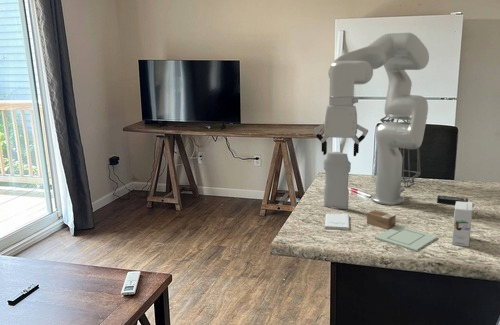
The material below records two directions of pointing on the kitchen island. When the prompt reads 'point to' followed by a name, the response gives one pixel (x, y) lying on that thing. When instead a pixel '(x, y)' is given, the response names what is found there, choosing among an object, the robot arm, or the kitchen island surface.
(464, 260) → the kitchen island surface
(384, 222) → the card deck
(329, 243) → the kitchen island surface
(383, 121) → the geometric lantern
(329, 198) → the tall pale column
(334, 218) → the external hard drive
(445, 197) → the multiport hub
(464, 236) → the ink box
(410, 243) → the mat
